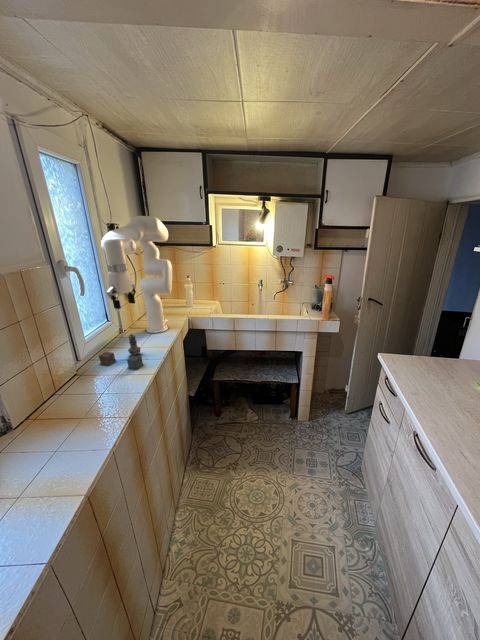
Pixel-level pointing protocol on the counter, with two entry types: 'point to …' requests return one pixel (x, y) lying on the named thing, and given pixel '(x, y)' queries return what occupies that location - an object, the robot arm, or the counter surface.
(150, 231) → the robot arm
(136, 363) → the slate block
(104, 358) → the walnut block
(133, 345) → the stone chess piece
